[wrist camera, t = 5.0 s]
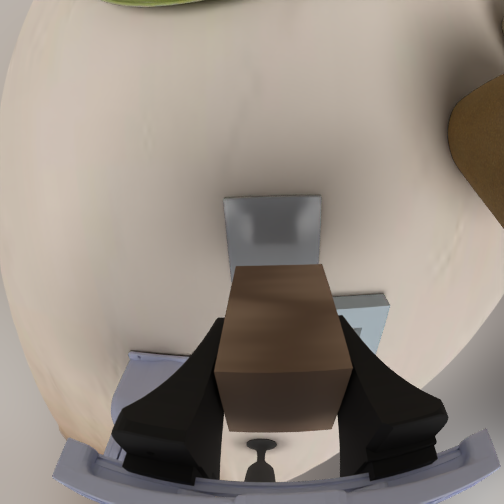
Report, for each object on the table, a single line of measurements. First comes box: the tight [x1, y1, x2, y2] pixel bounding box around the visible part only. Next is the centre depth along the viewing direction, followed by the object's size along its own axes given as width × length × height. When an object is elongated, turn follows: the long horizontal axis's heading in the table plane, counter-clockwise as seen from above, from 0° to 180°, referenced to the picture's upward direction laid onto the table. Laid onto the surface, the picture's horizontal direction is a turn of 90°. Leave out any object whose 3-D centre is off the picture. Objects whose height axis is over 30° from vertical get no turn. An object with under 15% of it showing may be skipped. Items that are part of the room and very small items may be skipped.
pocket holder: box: [333, 294, 390, 354], centre depth 25 cm, size 10×10×2 cm
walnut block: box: [214, 264, 353, 432], centre depth 12 cm, size 4×4×7 cm
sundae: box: [244, 439, 277, 482], centre depth 31 cm, size 7×7×15 cm
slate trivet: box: [223, 195, 321, 282], centre depth 21 cm, size 7×7×1 cm
